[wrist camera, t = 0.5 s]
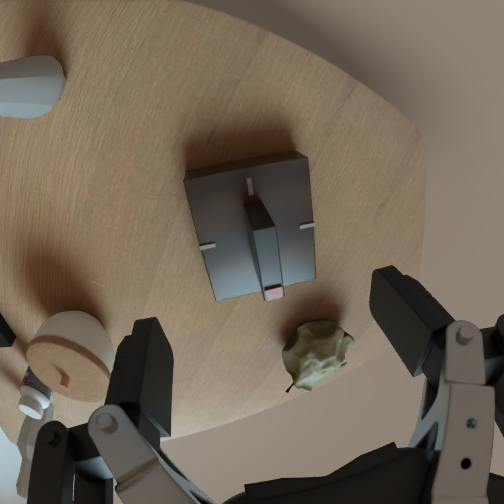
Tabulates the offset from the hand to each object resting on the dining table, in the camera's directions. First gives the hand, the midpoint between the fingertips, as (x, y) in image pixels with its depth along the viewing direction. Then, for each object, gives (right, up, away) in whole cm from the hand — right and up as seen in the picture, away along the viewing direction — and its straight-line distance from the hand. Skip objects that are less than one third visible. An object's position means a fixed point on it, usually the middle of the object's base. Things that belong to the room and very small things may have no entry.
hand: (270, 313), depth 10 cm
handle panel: (-1, +5, +17) cm, 18 cm away
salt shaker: (-19, +17, +7) cm, 27 cm away
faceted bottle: (-41, -27, +28) cm, 57 cm away
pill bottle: (-33, -16, +23) cm, 44 cm away
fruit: (+7, -9, +27) cm, 29 cm away
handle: (0, +4, +14) cm, 15 cm away
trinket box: (-22, -7, +21) cm, 31 cm away
